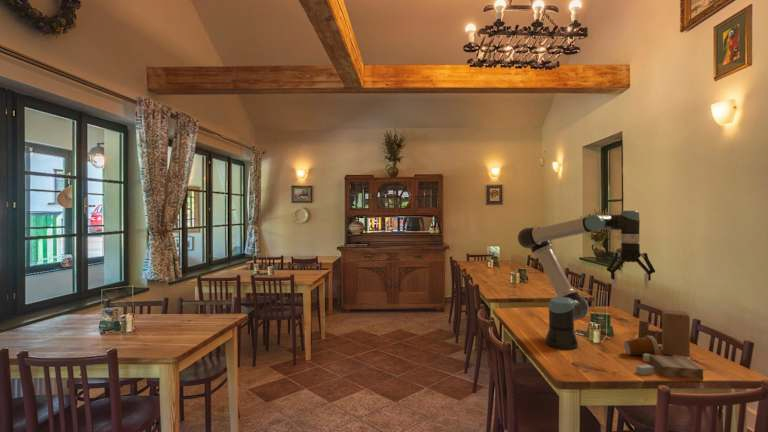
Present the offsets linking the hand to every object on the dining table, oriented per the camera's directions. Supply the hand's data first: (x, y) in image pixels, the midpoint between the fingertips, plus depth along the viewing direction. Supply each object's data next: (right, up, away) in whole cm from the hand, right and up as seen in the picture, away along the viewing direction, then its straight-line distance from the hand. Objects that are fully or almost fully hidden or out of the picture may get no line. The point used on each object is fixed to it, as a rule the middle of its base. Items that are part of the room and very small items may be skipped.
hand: (630, 286), depth 191 cm
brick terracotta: (+14, -32, -14) cm, 37 cm away
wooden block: (+20, -32, -2) cm, 38 cm away
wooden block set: (+19, -32, +16) cm, 40 cm away
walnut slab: (+5, -32, -23) cm, 39 cm away
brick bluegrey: (-9, -32, -25) cm, 41 cm away
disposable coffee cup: (-4, -29, -3) cm, 29 cm away
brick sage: (+2, -32, -12) cm, 34 cm away
